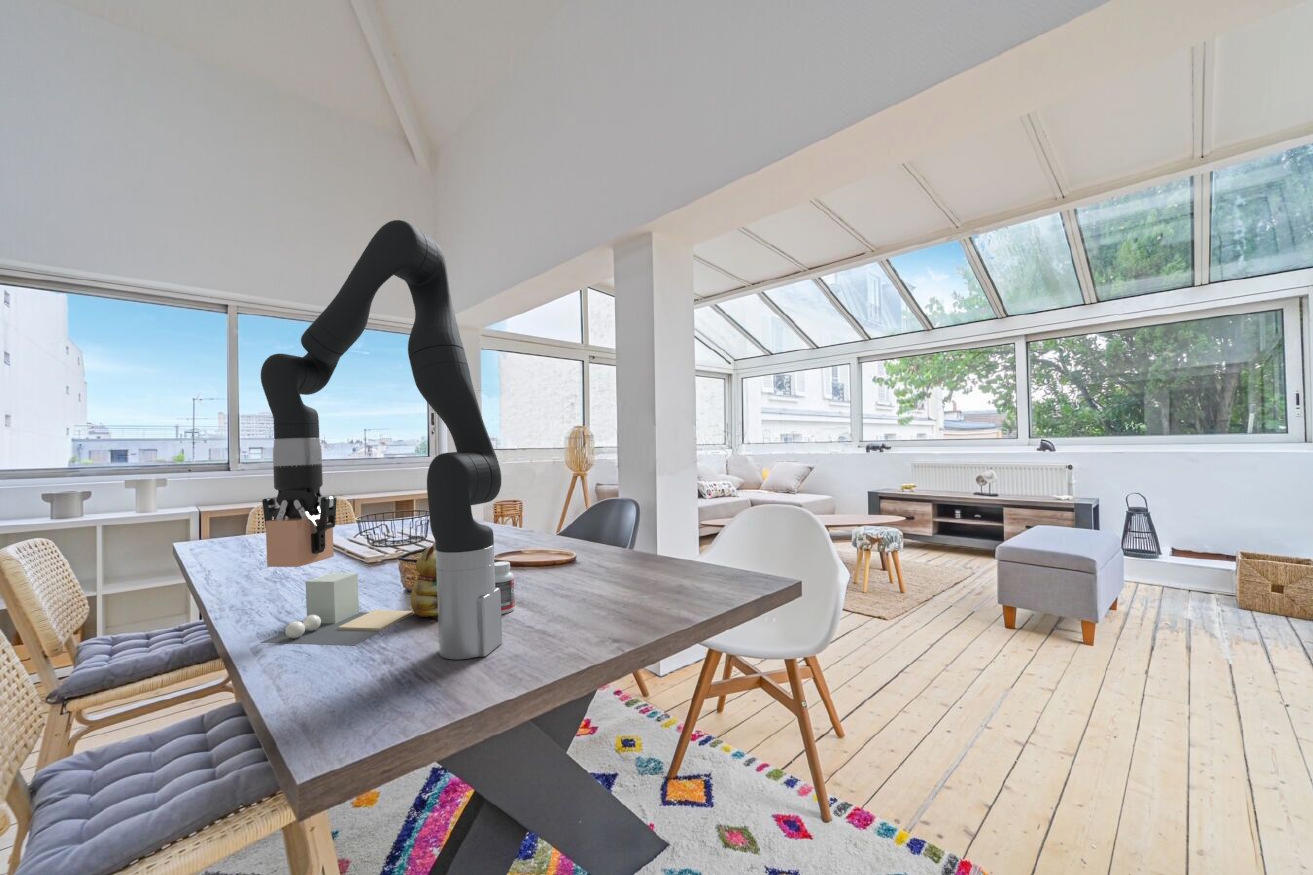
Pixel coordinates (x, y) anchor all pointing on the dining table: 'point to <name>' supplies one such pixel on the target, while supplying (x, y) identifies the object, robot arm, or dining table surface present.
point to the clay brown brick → (294, 543)
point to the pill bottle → (505, 586)
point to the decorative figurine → (426, 585)
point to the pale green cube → (333, 597)
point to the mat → (347, 629)
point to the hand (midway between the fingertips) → (301, 552)
